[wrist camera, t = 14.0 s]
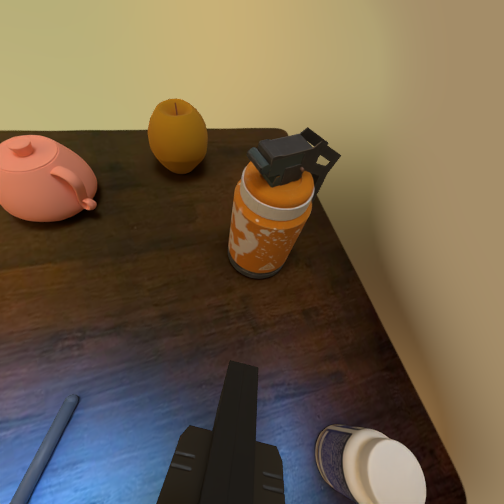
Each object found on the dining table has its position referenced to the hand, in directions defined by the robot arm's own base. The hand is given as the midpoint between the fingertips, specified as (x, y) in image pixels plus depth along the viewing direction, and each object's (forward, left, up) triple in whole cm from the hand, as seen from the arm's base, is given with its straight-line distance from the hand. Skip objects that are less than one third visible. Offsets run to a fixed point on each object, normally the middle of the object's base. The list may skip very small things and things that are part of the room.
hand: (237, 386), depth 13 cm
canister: (-1, -20, -19) cm, 28 cm away
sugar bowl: (+31, -20, -19) cm, 42 cm away
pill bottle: (-14, +3, -19) cm, 23 cm away
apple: (+17, -34, -19) cm, 43 cm away
